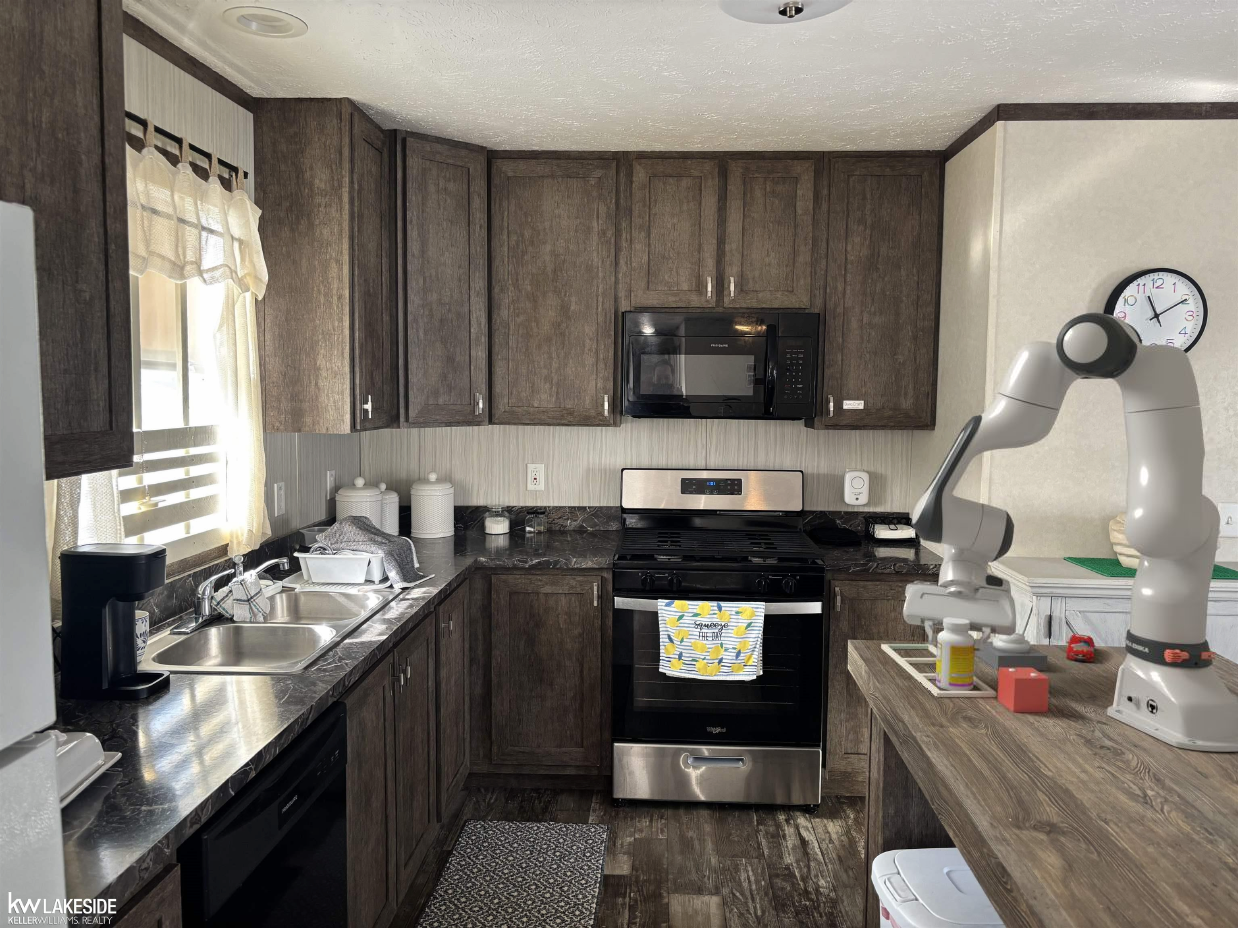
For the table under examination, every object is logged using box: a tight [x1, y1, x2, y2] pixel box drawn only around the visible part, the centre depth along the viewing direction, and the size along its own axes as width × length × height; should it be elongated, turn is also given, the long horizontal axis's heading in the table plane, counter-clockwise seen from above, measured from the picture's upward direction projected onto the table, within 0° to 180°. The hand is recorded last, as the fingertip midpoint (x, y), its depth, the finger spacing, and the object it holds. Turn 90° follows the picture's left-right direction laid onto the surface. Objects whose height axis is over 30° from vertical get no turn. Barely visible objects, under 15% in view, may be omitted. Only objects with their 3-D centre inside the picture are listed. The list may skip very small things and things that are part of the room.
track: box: [880, 643, 998, 698], centre depth 173 cm, size 31×11×1 cm, turn 1°
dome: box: [992, 632, 1031, 653], centre depth 178 cm, size 7×7×3 cm
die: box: [997, 668, 1050, 713], centre depth 153 cm, size 6×6×6 cm
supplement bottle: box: [935, 617, 976, 691], centre depth 163 cm, size 7×7×13 cm
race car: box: [1066, 633, 1097, 663], centre depth 185 cm, size 13×5×4 cm, turn 149°
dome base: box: [975, 641, 1048, 671], centre depth 179 cm, size 10×10×3 cm
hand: (955, 646), depth 162 cm, fingers closed on supplement bottle, 7 cm apart
